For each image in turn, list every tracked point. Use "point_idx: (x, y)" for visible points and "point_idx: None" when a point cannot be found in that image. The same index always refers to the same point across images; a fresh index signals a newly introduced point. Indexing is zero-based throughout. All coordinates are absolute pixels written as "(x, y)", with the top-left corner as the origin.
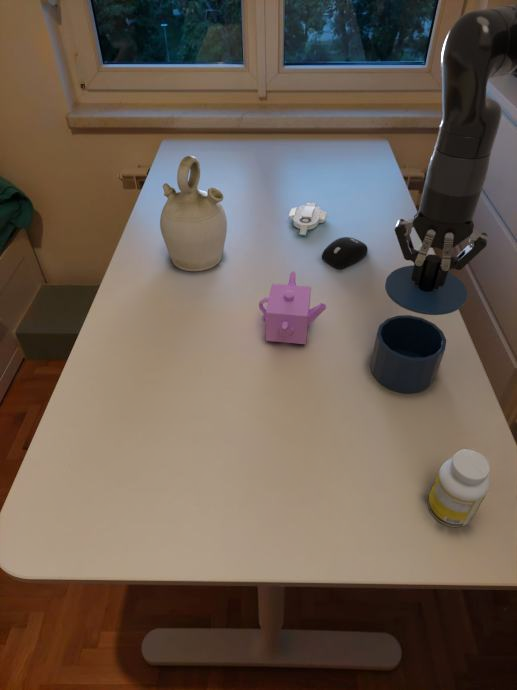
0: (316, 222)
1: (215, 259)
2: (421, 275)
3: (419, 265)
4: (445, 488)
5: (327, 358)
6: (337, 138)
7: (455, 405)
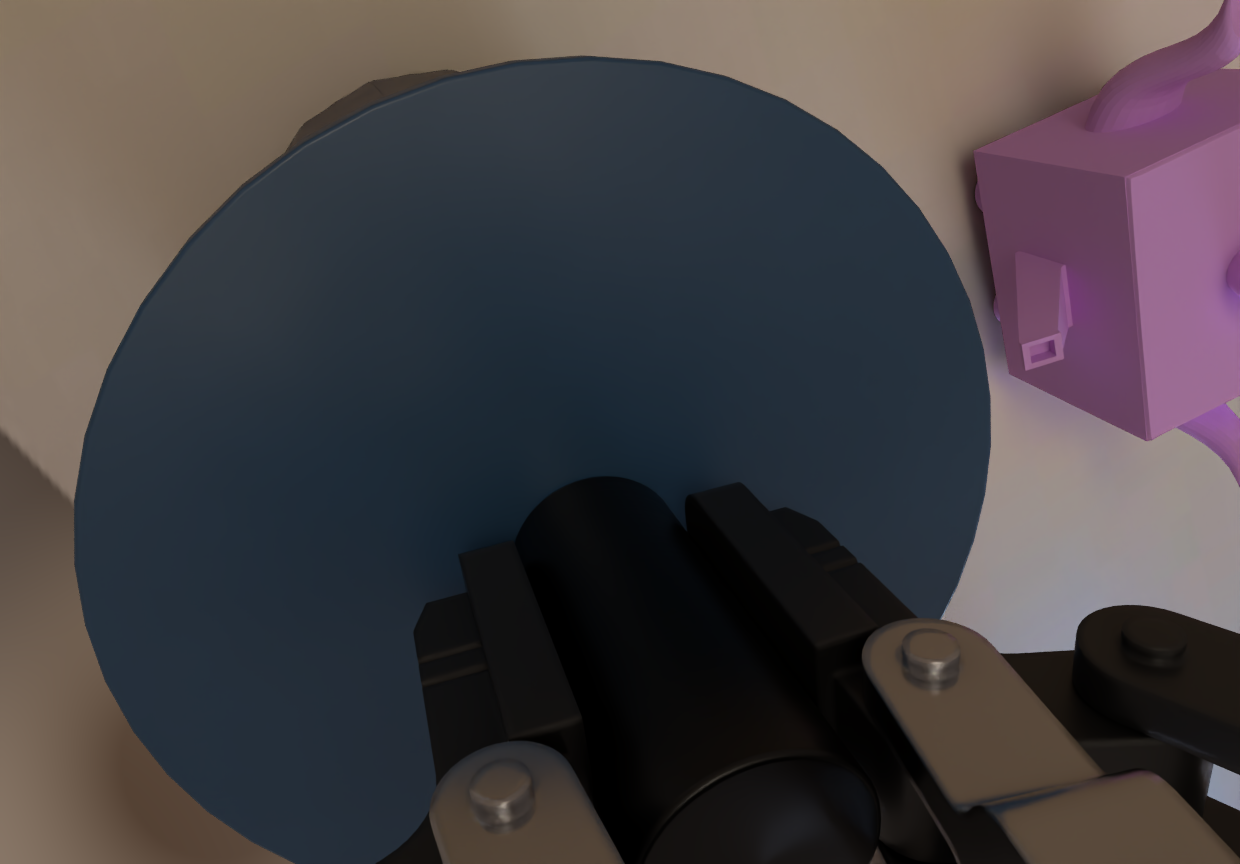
0: None
1: None
2: (733, 596)
3: (886, 635)
4: None
5: None
6: None
7: (53, 146)
